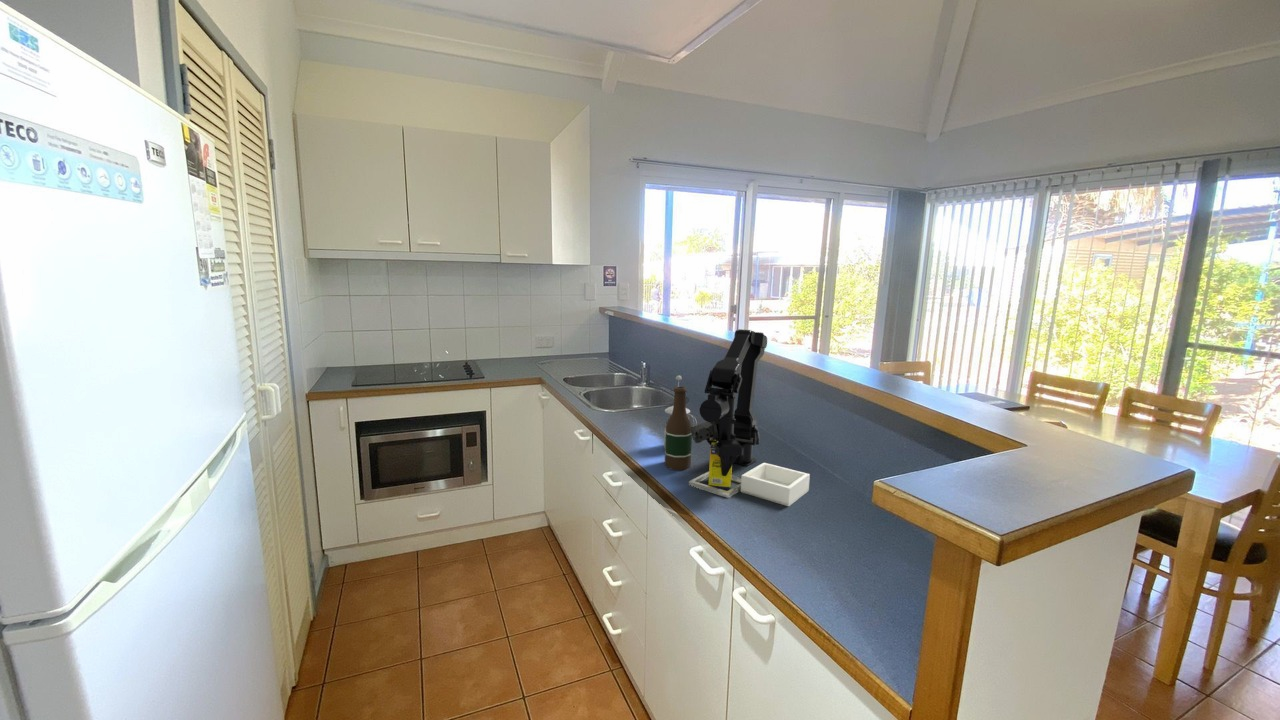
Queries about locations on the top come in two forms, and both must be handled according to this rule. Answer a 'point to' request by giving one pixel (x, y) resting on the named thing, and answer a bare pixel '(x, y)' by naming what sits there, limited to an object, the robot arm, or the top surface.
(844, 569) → the top surface
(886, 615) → the top surface
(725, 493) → the collar
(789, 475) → the bin
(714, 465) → the supplement box
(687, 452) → the beer bottle
